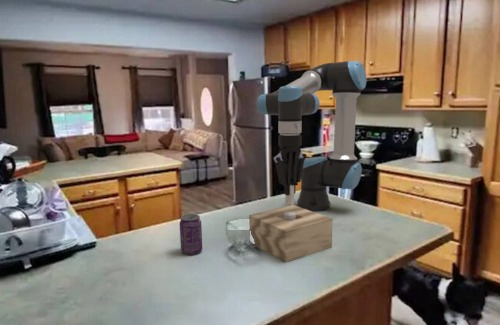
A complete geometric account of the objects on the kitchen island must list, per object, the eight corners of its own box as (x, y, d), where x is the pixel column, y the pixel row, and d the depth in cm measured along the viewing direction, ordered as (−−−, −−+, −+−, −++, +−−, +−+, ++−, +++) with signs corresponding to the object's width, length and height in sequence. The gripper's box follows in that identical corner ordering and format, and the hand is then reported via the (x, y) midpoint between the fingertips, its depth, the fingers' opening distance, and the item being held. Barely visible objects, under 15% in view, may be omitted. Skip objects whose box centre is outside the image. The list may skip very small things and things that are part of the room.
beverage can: (194, 245, 125) (192, 212, 123) (206, 251, 120) (205, 216, 118) (176, 251, 120) (174, 217, 118) (189, 257, 115) (187, 222, 113)
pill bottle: (297, 244, 121) (297, 216, 119) (281, 243, 122) (281, 215, 120) (297, 238, 126) (297, 211, 125) (282, 237, 127) (282, 210, 125)
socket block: (249, 242, 127) (249, 214, 126) (293, 230, 138) (293, 204, 136) (286, 262, 111) (286, 231, 109) (331, 246, 122) (332, 218, 120)
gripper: (281, 136, 111) (281, 209, 115) (312, 133, 119) (311, 203, 122) (267, 134, 118) (267, 204, 121) (297, 132, 125) (297, 198, 129)
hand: (289, 203), depth 122 cm, fingers closed
